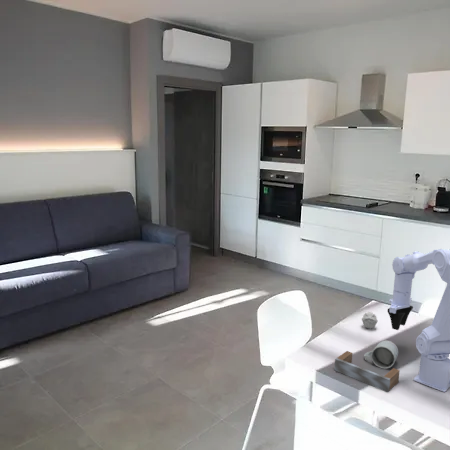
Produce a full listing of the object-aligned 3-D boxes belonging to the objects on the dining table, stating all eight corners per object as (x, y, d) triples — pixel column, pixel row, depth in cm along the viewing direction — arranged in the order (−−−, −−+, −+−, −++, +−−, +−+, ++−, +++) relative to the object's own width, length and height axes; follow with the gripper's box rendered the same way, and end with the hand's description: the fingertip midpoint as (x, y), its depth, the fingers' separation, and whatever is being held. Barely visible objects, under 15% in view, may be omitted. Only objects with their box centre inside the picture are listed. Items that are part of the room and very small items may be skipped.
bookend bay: (398, 382, 138) (399, 370, 137) (387, 392, 132) (389, 380, 132) (346, 361, 150) (347, 350, 149) (334, 370, 144) (335, 358, 144)
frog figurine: (360, 330, 176) (361, 313, 174) (361, 323, 182) (363, 307, 181) (376, 332, 174) (378, 316, 172) (377, 326, 180) (378, 309, 179)
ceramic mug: (398, 361, 151) (400, 340, 150) (393, 371, 144) (395, 349, 143) (367, 353, 157) (368, 333, 155) (361, 363, 150) (362, 342, 148)
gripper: (399, 283, 162) (395, 317, 165) (382, 292, 152) (378, 329, 154) (418, 287, 157) (414, 323, 160) (402, 297, 147) (398, 335, 149)
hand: (398, 326), depth 157 cm, fingers open, 5 cm apart
